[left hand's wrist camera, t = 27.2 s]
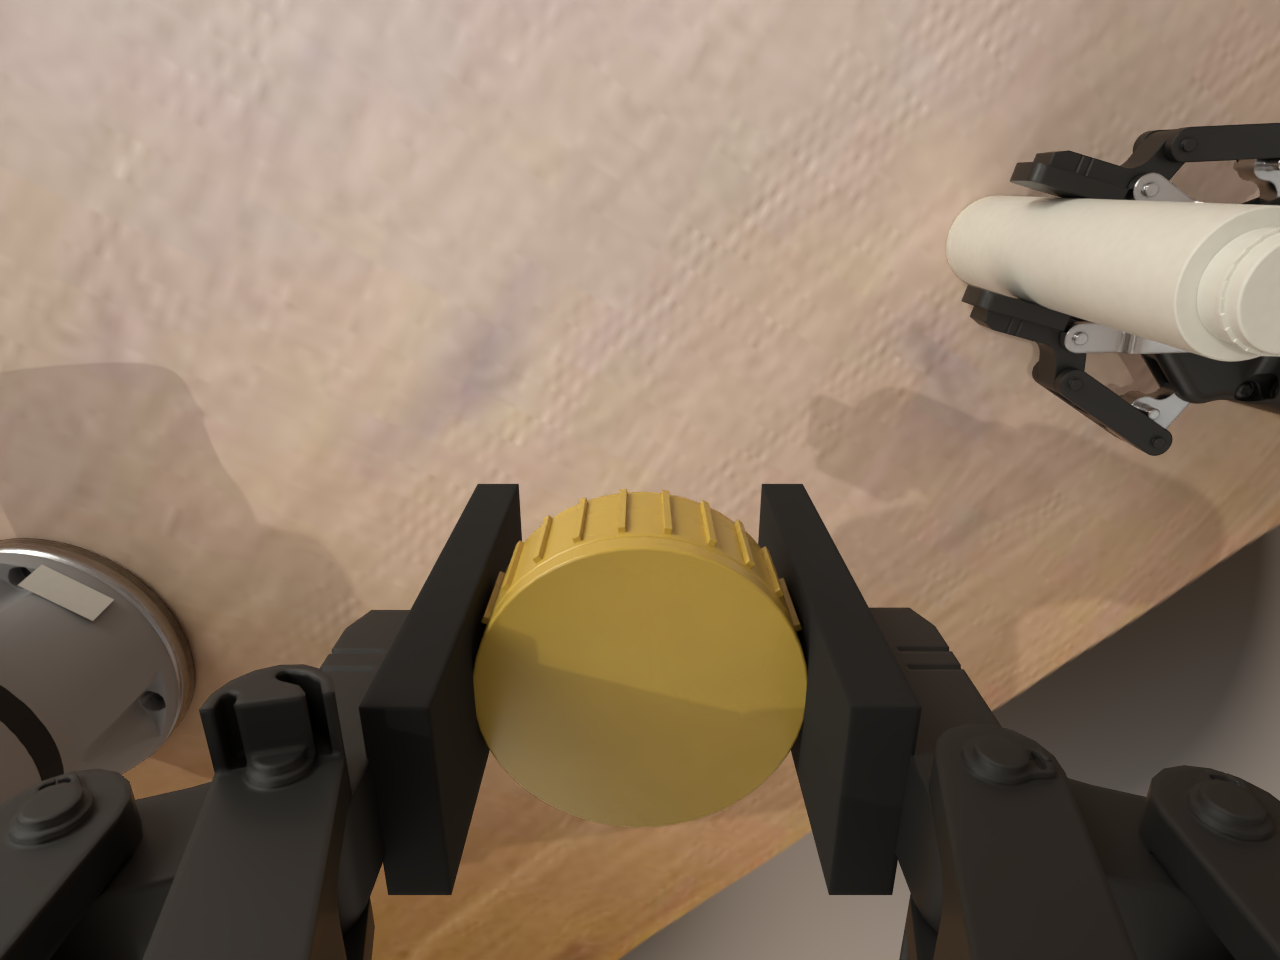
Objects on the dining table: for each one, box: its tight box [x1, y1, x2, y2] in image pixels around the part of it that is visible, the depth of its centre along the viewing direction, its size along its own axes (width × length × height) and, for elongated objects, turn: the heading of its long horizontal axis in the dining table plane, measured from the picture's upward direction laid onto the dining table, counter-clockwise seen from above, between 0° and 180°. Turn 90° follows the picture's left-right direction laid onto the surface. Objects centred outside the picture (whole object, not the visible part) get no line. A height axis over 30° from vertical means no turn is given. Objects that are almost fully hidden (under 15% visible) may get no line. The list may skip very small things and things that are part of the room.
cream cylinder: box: [946, 195, 1280, 362], centre depth 29 cm, size 4×4×19 cm
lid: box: [473, 489, 807, 828], centre depth 11 cm, size 5×5×2 cm
